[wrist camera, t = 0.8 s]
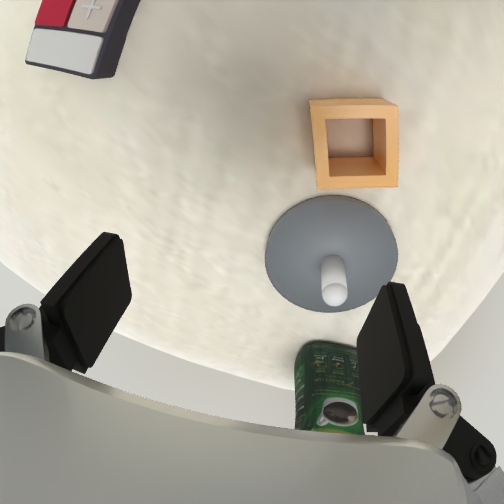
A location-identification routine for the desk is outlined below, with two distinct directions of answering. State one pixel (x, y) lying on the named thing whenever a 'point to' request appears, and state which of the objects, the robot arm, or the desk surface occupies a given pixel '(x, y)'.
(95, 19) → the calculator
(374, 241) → the post stand
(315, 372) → the coffee jar
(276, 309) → the desk surface
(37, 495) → the robot arm
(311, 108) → the collar
